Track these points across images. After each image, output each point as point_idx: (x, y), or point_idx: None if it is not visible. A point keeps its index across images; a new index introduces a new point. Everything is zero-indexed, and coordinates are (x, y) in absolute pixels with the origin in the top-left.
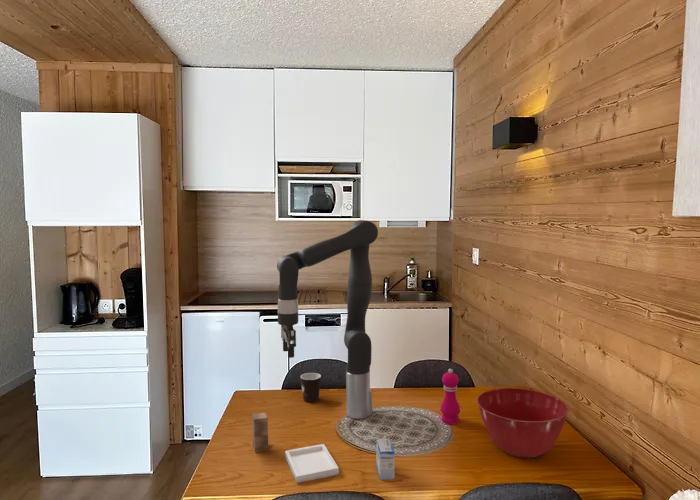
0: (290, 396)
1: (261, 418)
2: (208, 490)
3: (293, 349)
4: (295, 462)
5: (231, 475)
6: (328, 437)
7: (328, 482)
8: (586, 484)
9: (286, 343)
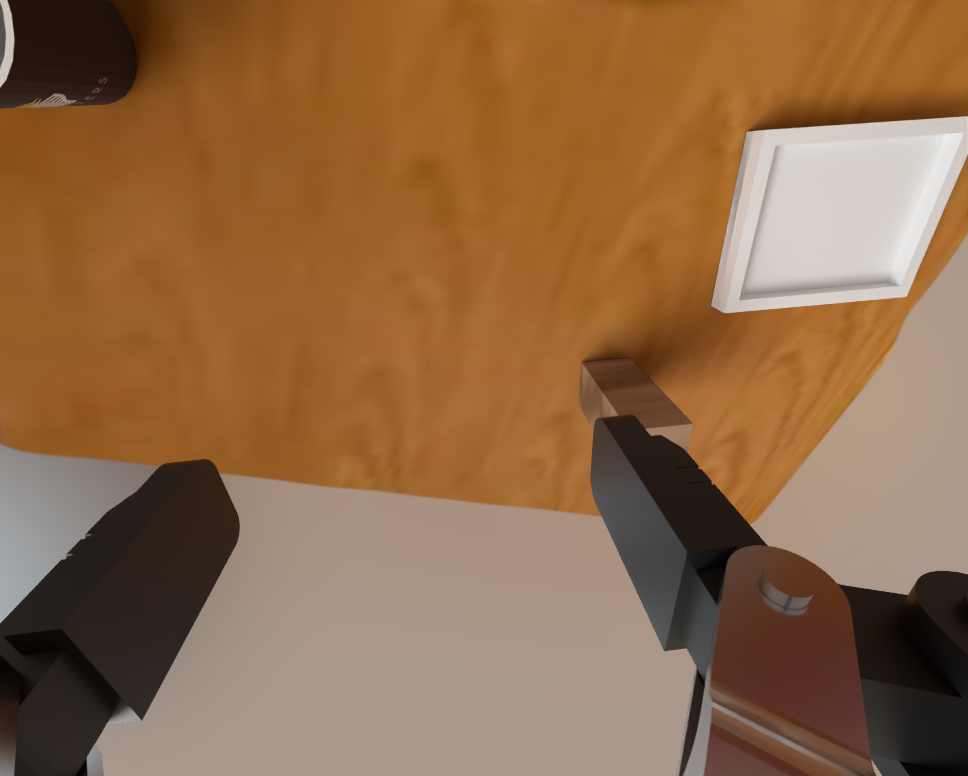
0: (33, 187)
1: (687, 447)
2: (757, 501)
3: (750, 529)
4: (790, 279)
5: (723, 458)
6: (648, 69)
7: (963, 176)
8: None
9: (131, 621)
